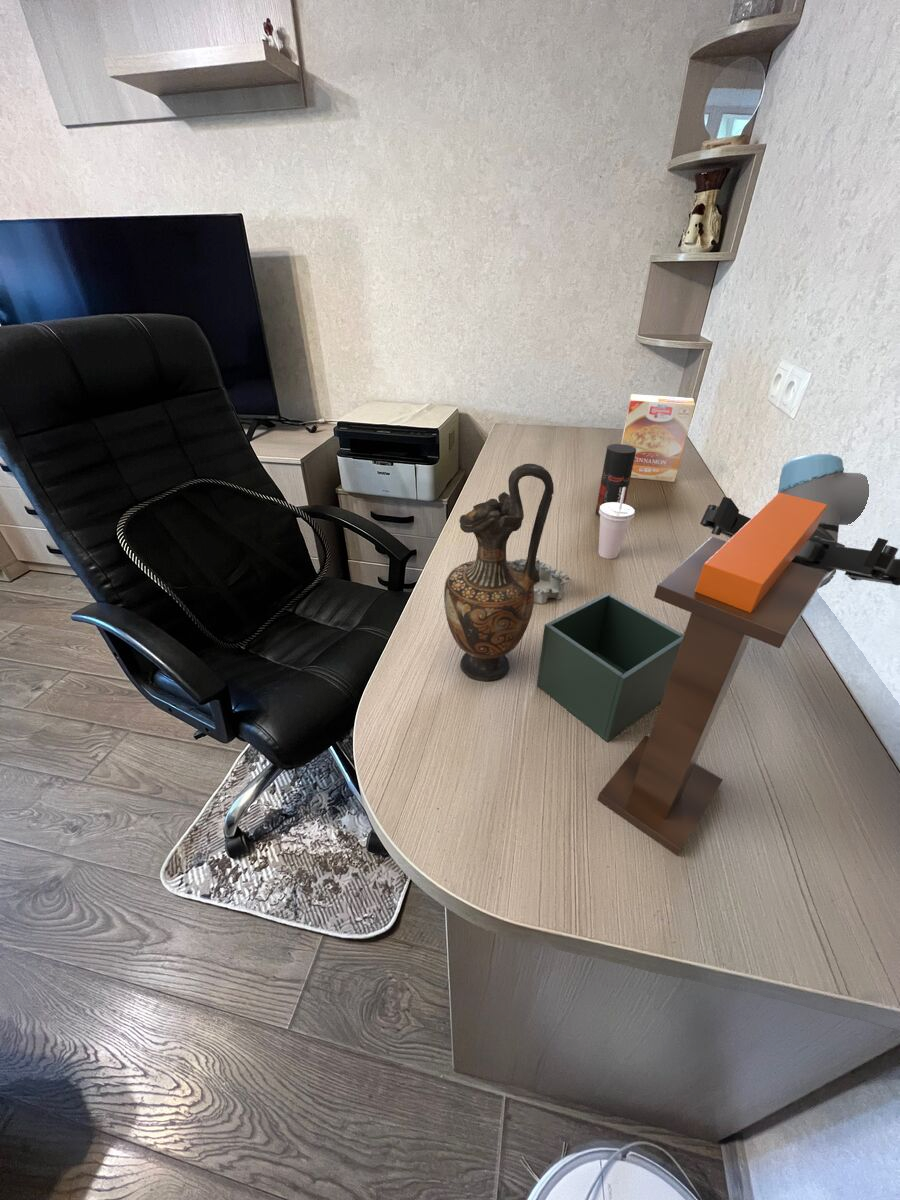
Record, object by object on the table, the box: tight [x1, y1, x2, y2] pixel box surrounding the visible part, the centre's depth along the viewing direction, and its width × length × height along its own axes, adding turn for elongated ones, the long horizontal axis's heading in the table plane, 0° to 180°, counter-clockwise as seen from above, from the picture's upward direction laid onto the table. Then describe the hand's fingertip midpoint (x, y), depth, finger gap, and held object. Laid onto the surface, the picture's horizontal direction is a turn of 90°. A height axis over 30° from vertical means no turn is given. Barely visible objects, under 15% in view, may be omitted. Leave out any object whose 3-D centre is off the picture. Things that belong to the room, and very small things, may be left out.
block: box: [695, 492, 827, 613], centre depth 41 cm, size 18×4×2 cm, turn 136°
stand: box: [597, 536, 826, 857], centre depth 47 cm, size 11×9×28 cm
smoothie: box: [598, 487, 636, 560], centre depth 95 cm, size 6×6×14 cm
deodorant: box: [595, 443, 636, 518], centre depth 110 cm, size 6×6×15 cm
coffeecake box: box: [620, 393, 696, 483], centre depth 128 cm, size 15×7×20 cm, turn 73°
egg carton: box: [507, 557, 571, 605], centre depth 88 cm, size 11×8×4 cm
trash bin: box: [536, 592, 684, 743], centre depth 65 cm, size 12×12×11 cm
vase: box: [443, 463, 555, 682], centre depth 63 cm, size 12×12×30 cm
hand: (792, 529), depth 49 cm, fingers open, 13 cm apart
